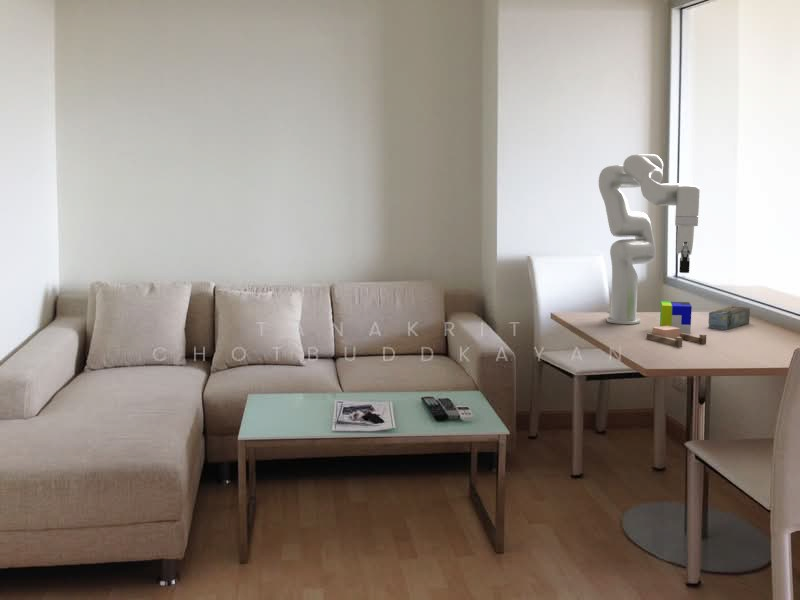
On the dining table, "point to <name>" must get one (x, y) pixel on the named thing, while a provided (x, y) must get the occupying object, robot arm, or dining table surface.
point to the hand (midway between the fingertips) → (684, 271)
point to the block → (667, 331)
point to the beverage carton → (729, 317)
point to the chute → (678, 338)
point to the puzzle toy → (676, 315)
